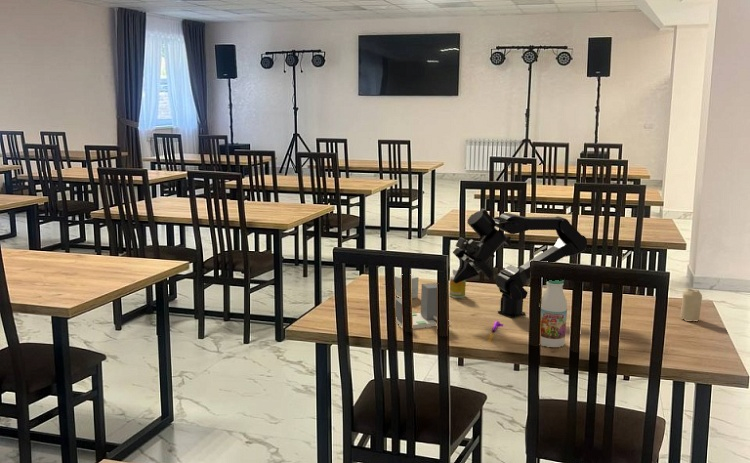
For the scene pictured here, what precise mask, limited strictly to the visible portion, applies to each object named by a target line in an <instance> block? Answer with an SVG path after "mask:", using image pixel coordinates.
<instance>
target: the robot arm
mask: <svg viewBox="0 0 750 463" xmlns="http://www.w3.org/2000/svg"><path fill="white" fill-rule="evenodd" d="M466 223H467V225H468V226H469V227H470V228H471V229H472V230H473V231H474V233H476V234H477V235H478V237H482V239H480V240H474V239H469V240H468V239H465V238H463V237H460V236H459V238H458V240H457V242H456V243H455V247H456V248H455V249H454V250H453V251H452V253H453V254H454V255H455V256H456V257H457V259H458V260H459V267H458V268H459V269H458V271H457V273H456V275H455V277H454V280H453V282H454V283H459V282H461V281H464V280H466V281H467V280H469V279H471V278H474V277H476V276H480V272H482V273H483V274H484V277H485V278H486V279H488V280H489V279H491V278H492V277H493V276H494V272H495V271H494V269H493V268H492V267H491V266H490V265H489V264H488V263H487V262H488V261H489V260H490V258H492V259H494V258H495V256H496V254H495V253H496V252H497V251H498V250H499V248H501V246H502V245H503V244H505V245H507V246H511V245H512V244H511V243H512V242H511V236H509V235H517V234H522V233H524V232H527V231H555V232H556V235H557V236H558V238H557V241H556V242H555V244H554V245H553V246H551V247H549V248H548V249H547V250H545V251H543V252H541V253H540V254H538V255H537V256H535V257H533V258H531V259H530V260H528V261H526V262H525V263H523V264H522V265H520V266H518V267H515V266H513V265H511V264H509V265H507V267H506V268H504V269H500V270H499V273H497V275H496V278H495V285H496V287H497V288H498V289H499V292H500V293H502V294H501V297H500V307H499V308H500V310H498V311H497V313H498V314H500V315H503V316H506V317H510V318H513V319H514V318H518V317H521V316H525V315H526V312H525V311H523V310H524V309H523V308H524V300H525V299H527V295H528V294H529V293H528V291H527V290H526V288H524V287H525V286H526V284H527V282H528V280H530V279H531V278H530V262H531V261H533V260H537V261H548V262H555V263H557V262H558V261H560V260H561V259H563V258H565V257H572V256H576V255H577V254H581V253H582V252H584V251H586V249H587V245H588V239H587V238H586V236H585V235H582V234H581V233H580V231H579V230H578V229H576V227H574V226H573V225H572V224H571V223H570V221H569V220H568V219H567V218H564V217H561V216H547V217H546V216H523V215H520V214H519V215H518V214H514V213H508V212H504V213H501V214H500V215H499V216H496V217H492V216H491V215H490V213H489V212H488V210H487V209H485V208H481V209H480V210H478V211H476V212H474V213H473V214H472V213H471V215H470V216H469V217H468V218H467V222H466ZM497 228H498V229H497ZM505 233H507V234H509V235H506V234H505Z"/></svg>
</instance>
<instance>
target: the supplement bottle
mask: <svg viewBox="0 0 750 463" xmlns="http://www.w3.org/2000/svg"><path fill="white" fill-rule="evenodd" d="M458 269H459V267H453V268H452V274H451V275H450V277H449V279H450V280H449V297H451V298H453V299H462V298H465V297H466V283H467V282H466V281H467V279H466V280H464V281H461V282H459V283H454V282H453V280H454V277H455V275H456V273H457V271H458Z"/></svg>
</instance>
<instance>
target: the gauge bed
mask: <svg viewBox="0 0 750 463" xmlns="http://www.w3.org/2000/svg"><path fill="white" fill-rule="evenodd" d="M395 299H396V317H397V323H398V324H399V325H400V326H402V298H398V297H395V298H394V300H395ZM411 313H412V316H413V329H412V330H414V329H425V327H426V328H432V327H431V326H436V324H437V320H436V319H430V320H426V319H425V318H424V317H423V316H422V315H421V312H417V313H416V312H411ZM397 323H396V324H397ZM398 324H397V325H398ZM399 325H398V326H399ZM449 325H450V321H449ZM400 326H399V327H400Z"/></svg>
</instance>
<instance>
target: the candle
mask: <svg viewBox="0 0 750 463" xmlns="http://www.w3.org/2000/svg"><path fill="white" fill-rule="evenodd" d="M702 298H703V294H702V293H701V292H700V290H699V289H691V288H687V289H685V291H684V292H682V300H681V309H680V317H681V318H682V319H686V320H692V321H694V320H699V321H700V315H701V308H702V307H701V306H702ZM680 317H679V318H680ZM681 318H680V319H681Z"/></svg>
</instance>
